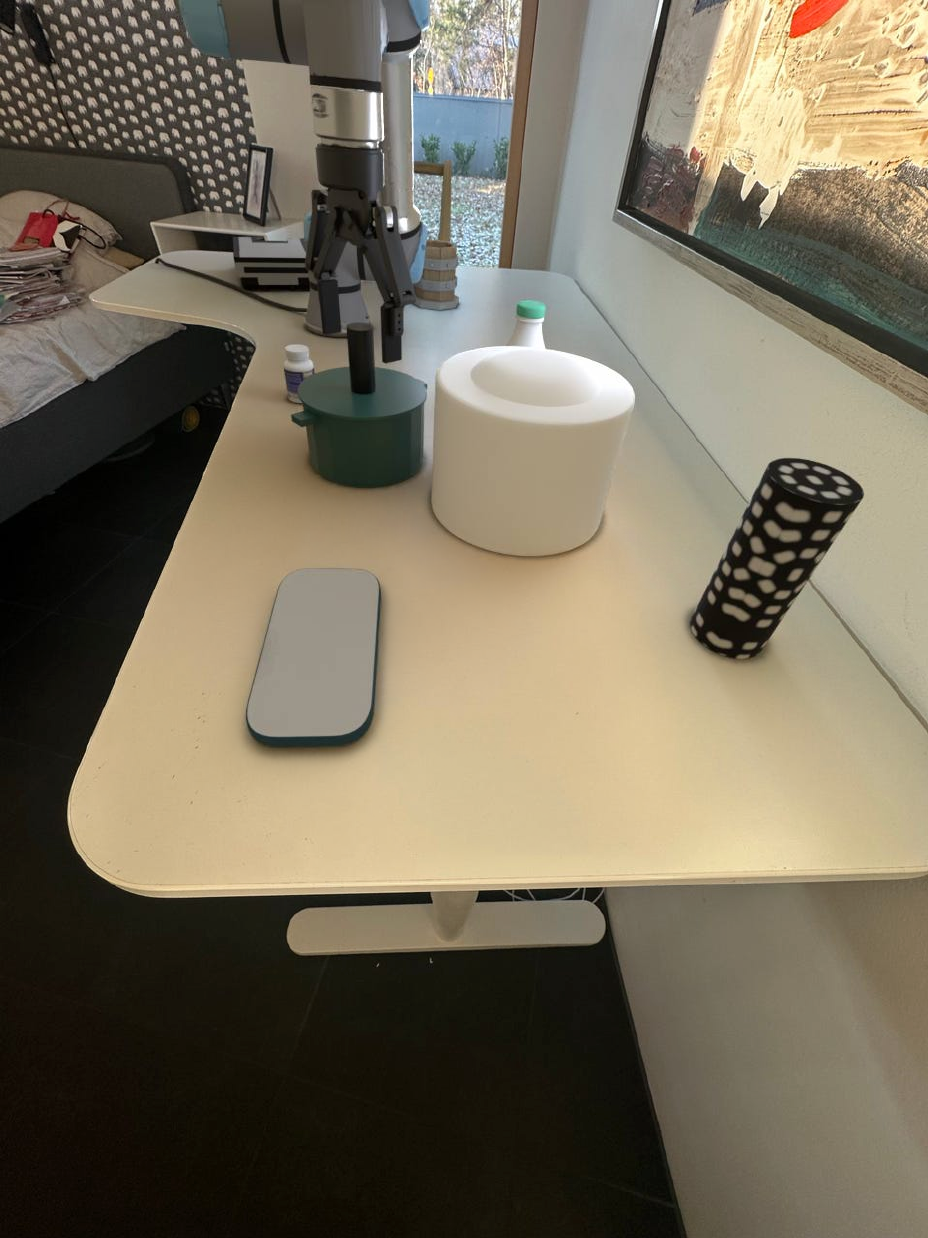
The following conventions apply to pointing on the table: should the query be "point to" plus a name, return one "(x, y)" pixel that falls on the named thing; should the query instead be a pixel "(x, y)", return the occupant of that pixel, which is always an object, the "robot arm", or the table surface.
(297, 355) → the pill bottle
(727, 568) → the white-spotted black cylinder
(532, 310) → the milk bottle
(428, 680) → the table surface
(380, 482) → the pot
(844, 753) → the table surface
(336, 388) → the lid
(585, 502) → the container
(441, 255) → the tankard
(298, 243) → the game console
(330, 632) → the external hard drive
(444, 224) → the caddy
